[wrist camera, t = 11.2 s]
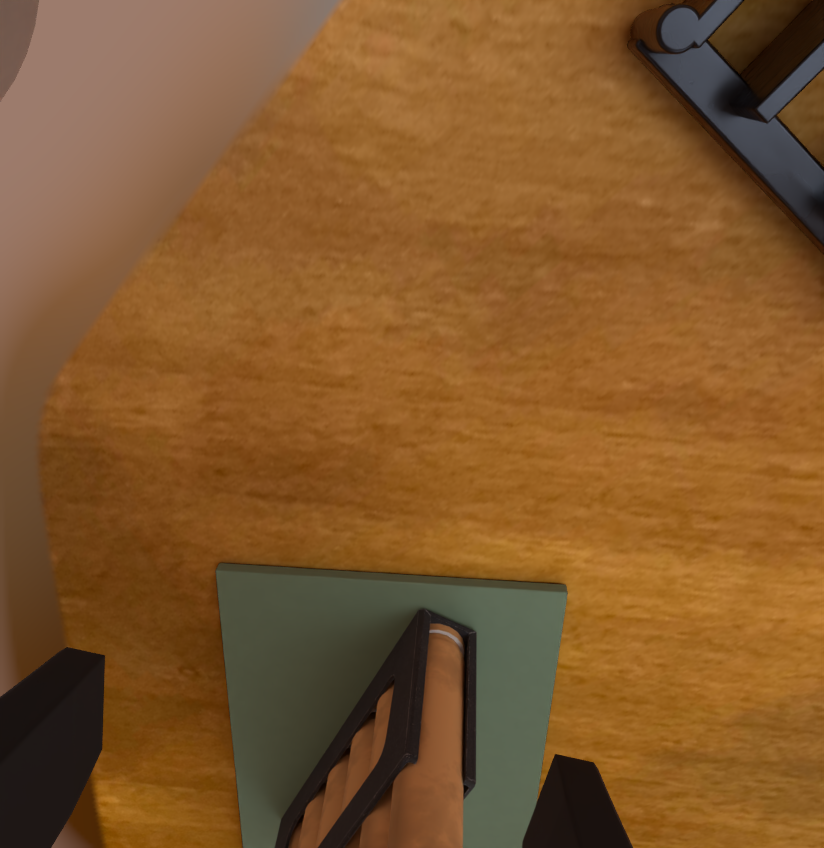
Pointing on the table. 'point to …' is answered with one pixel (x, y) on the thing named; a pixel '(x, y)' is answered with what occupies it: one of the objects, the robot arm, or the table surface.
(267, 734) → the mat
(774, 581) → the table surface
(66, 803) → the robot arm
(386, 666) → the stripper clip of bullets
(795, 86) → the rack
